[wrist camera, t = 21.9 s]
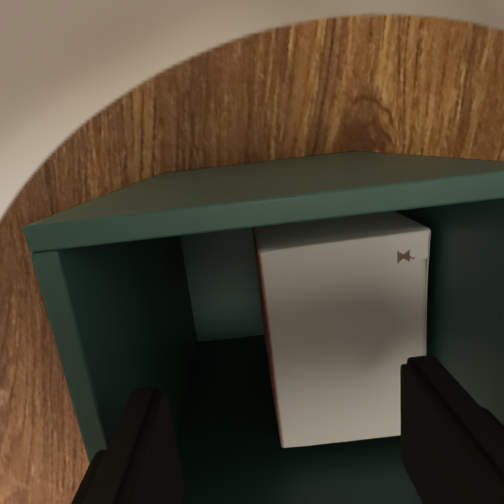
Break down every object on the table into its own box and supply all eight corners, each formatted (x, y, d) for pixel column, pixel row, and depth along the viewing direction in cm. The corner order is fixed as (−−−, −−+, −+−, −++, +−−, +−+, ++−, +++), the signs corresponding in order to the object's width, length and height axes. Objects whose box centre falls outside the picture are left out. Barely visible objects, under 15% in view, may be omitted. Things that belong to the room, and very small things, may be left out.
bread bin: (190, 346, 25) (128, 604, 11) (160, 173, 22) (20, 226, 8) (361, 326, 25) (515, 561, 11) (355, 150, 22) (557, 164, 8)
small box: (247, 197, 22) (254, 243, 12) (345, 185, 22) (435, 222, 12) (262, 323, 24) (278, 454, 14) (351, 313, 24) (431, 437, 14)
